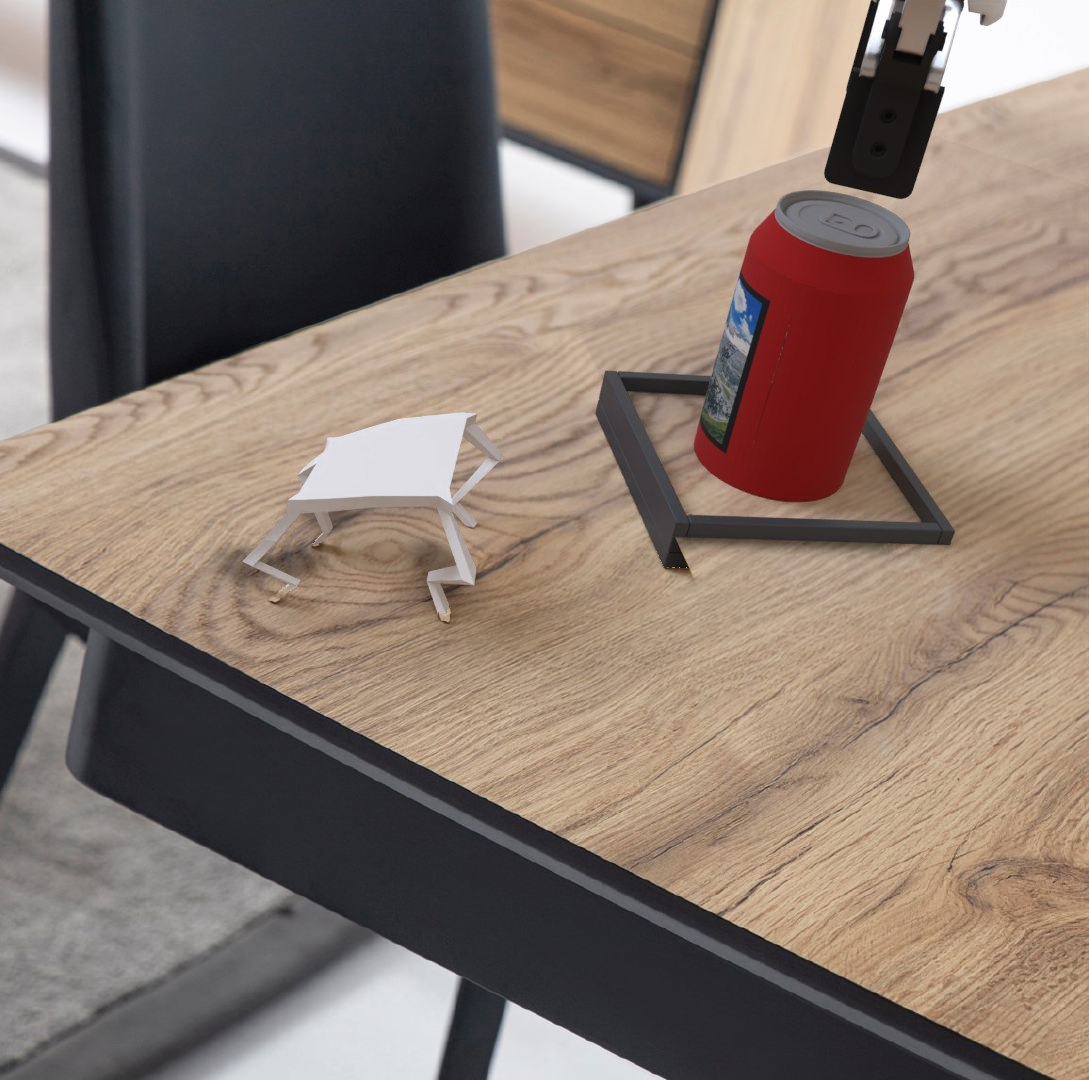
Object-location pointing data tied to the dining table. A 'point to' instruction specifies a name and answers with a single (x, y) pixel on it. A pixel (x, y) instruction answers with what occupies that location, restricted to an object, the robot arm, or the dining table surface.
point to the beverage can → (805, 345)
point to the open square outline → (671, 520)
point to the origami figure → (391, 485)
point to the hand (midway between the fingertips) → (875, 143)
